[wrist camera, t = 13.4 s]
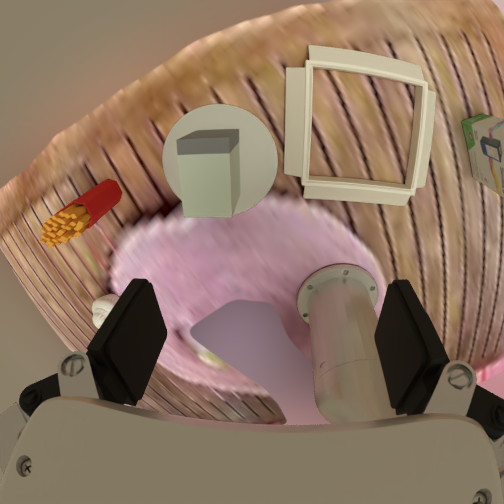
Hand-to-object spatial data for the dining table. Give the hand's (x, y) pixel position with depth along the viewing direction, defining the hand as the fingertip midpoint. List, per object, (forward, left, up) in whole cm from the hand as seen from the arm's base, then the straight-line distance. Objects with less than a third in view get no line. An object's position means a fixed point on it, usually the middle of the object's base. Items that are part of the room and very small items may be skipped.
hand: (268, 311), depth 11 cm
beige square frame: (+5, -10, -25) cm, 28 cm away
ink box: (+6, -28, -25) cm, 38 cm away
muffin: (-24, +28, -25) cm, 45 cm away
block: (0, +7, -25) cm, 25 cm away
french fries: (-4, +24, -25) cm, 35 cm away
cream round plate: (0, +7, -25) cm, 26 cm away
